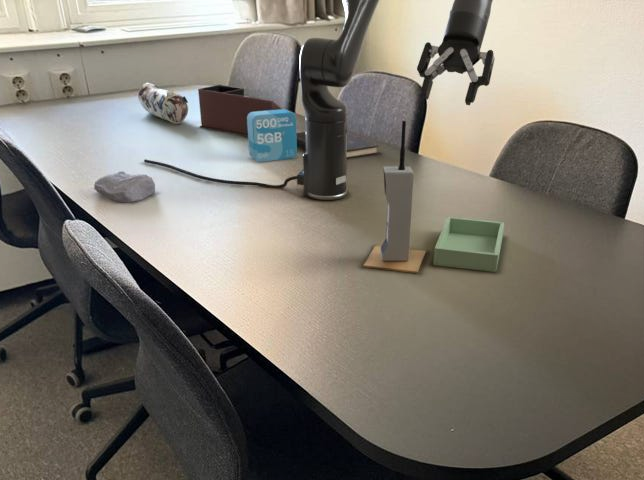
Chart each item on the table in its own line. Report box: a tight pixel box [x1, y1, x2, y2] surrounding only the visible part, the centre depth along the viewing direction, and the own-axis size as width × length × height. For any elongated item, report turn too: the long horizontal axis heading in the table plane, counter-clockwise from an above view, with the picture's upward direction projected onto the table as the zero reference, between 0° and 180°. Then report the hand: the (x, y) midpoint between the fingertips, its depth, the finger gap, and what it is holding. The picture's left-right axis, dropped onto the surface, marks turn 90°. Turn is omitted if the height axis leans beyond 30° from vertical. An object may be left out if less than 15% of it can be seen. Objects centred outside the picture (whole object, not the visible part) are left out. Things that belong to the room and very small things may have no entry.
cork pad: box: [363, 244, 427, 274], centre depth 132 cm, size 10×10×1 cm
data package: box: [247, 108, 298, 163], centre depth 186 cm, size 12×4×12 cm, turn 118°
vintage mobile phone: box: [380, 120, 415, 261], centre depth 126 cm, size 4×5×25 cm
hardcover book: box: [296, 131, 380, 160], centre depth 199 cm, size 16×23×2 cm
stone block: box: [93, 171, 156, 203], centre depth 160 cm, size 12×5×10 cm
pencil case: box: [137, 82, 189, 125], centre depth 224 cm, size 22×8×10 cm, turn 38°
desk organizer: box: [197, 84, 283, 138], centre depth 211 cm, size 10×29×11 cm, turn 58°
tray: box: [432, 216, 505, 273], centre depth 136 cm, size 12×18×3 cm, turn 167°
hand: (446, 100), depth 137 cm, fingers open, 8 cm apart
